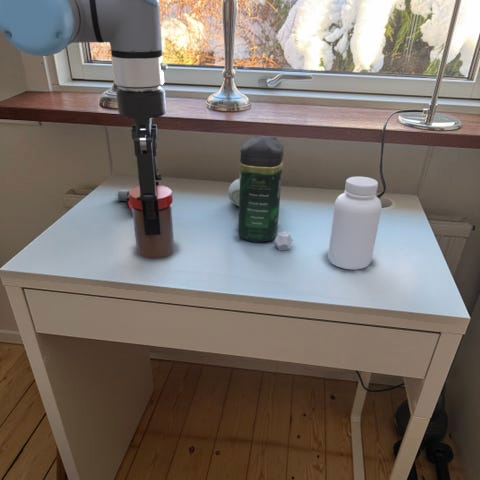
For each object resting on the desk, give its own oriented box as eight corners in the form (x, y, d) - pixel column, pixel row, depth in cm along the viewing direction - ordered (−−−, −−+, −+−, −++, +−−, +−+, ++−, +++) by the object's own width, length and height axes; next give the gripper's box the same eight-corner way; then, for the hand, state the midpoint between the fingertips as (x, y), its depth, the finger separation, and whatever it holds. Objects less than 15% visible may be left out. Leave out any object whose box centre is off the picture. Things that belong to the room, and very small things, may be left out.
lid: (172, 194, 86) (172, 184, 85) (172, 209, 80) (171, 199, 79) (131, 195, 86) (130, 184, 84) (128, 210, 80) (127, 200, 78)
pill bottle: (343, 246, 91) (356, 170, 82) (378, 261, 87) (396, 181, 78) (318, 259, 87) (329, 180, 78) (354, 275, 82) (370, 193, 73)
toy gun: (117, 197, 110) (114, 177, 107) (167, 200, 109) (166, 179, 106) (104, 213, 102) (100, 192, 99) (158, 216, 101) (156, 195, 98)
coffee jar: (274, 245, 91) (281, 148, 80) (234, 241, 92) (236, 144, 81) (280, 225, 99) (287, 134, 88) (243, 222, 100) (245, 131, 89)
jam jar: (137, 259, 85) (130, 204, 79) (136, 243, 91) (130, 190, 84) (175, 257, 86) (172, 202, 80) (172, 240, 92) (169, 188, 86)
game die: (290, 253, 88) (291, 239, 87) (271, 250, 89) (272, 236, 87) (294, 245, 91) (295, 231, 89) (275, 242, 92) (276, 228, 90)
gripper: (164, 100, 64) (174, 249, 78) (165, 76, 81) (173, 203, 94) (109, 100, 64) (129, 250, 77) (120, 76, 80) (135, 204, 93)
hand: (153, 224), depth 85 cm, fingers closed on lid, 7 cm apart
